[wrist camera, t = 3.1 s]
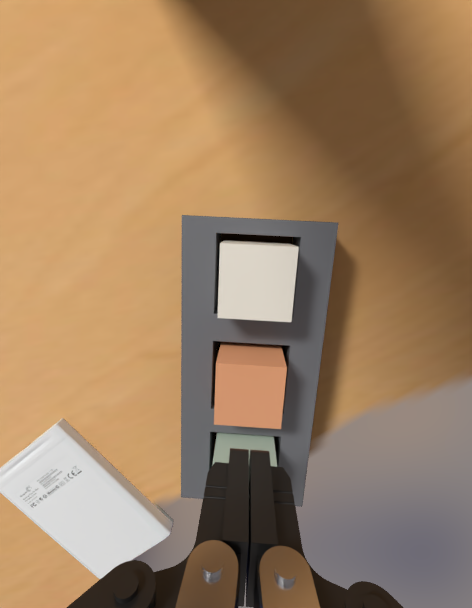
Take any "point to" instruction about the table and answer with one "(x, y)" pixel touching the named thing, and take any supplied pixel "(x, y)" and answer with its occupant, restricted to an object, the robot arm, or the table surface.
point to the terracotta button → (249, 385)
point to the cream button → (257, 280)
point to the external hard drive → (82, 500)
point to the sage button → (242, 445)
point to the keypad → (292, 335)
